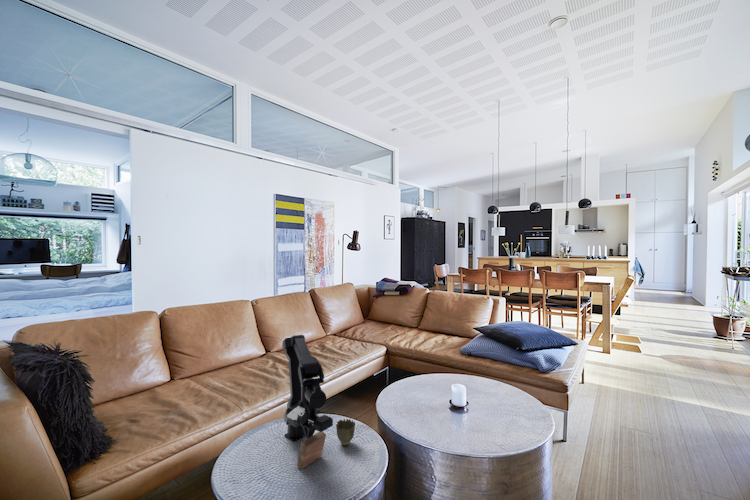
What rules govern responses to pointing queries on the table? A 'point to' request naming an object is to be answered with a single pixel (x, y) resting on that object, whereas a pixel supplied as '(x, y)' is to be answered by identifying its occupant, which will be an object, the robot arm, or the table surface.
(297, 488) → the table surface
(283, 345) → the robot arm
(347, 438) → the cup
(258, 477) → the table surface
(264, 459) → the table surface
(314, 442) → the wooden block
